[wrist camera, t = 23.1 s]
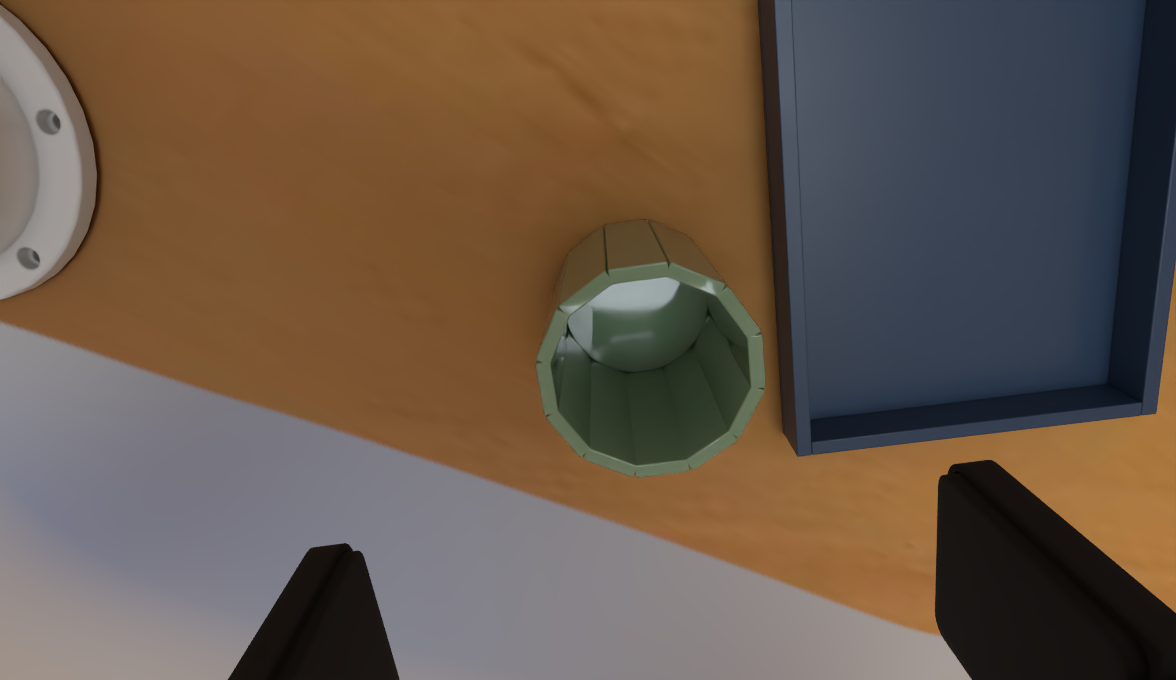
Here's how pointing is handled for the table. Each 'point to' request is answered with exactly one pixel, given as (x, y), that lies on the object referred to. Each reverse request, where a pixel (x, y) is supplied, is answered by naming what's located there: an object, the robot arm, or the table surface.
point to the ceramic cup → (647, 353)
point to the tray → (968, 213)
